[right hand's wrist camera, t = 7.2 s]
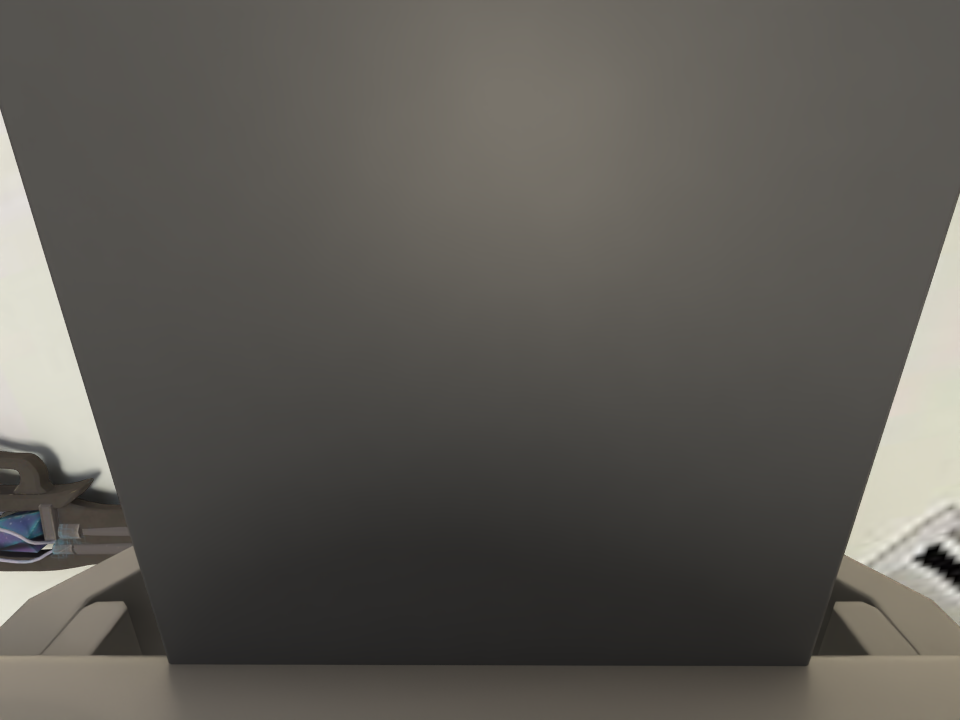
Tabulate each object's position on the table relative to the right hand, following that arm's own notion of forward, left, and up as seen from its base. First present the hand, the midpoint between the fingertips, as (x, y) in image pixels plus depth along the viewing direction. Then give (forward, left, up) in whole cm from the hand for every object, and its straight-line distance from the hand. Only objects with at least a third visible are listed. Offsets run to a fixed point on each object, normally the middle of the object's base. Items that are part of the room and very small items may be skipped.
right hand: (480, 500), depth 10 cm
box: (+9, 0, -6) cm, 11 cm away
